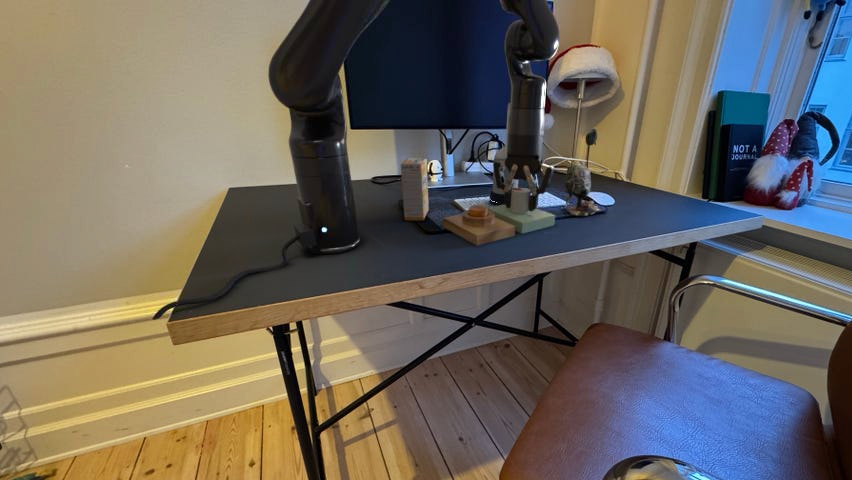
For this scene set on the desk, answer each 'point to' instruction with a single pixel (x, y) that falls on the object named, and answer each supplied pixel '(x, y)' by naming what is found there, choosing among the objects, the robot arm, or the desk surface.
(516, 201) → the dimmer knob
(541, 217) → the green base plate
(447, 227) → the lamp base
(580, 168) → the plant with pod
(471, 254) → the desk surface
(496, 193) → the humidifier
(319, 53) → the robot arm
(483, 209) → the light button
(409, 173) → the supplement box
